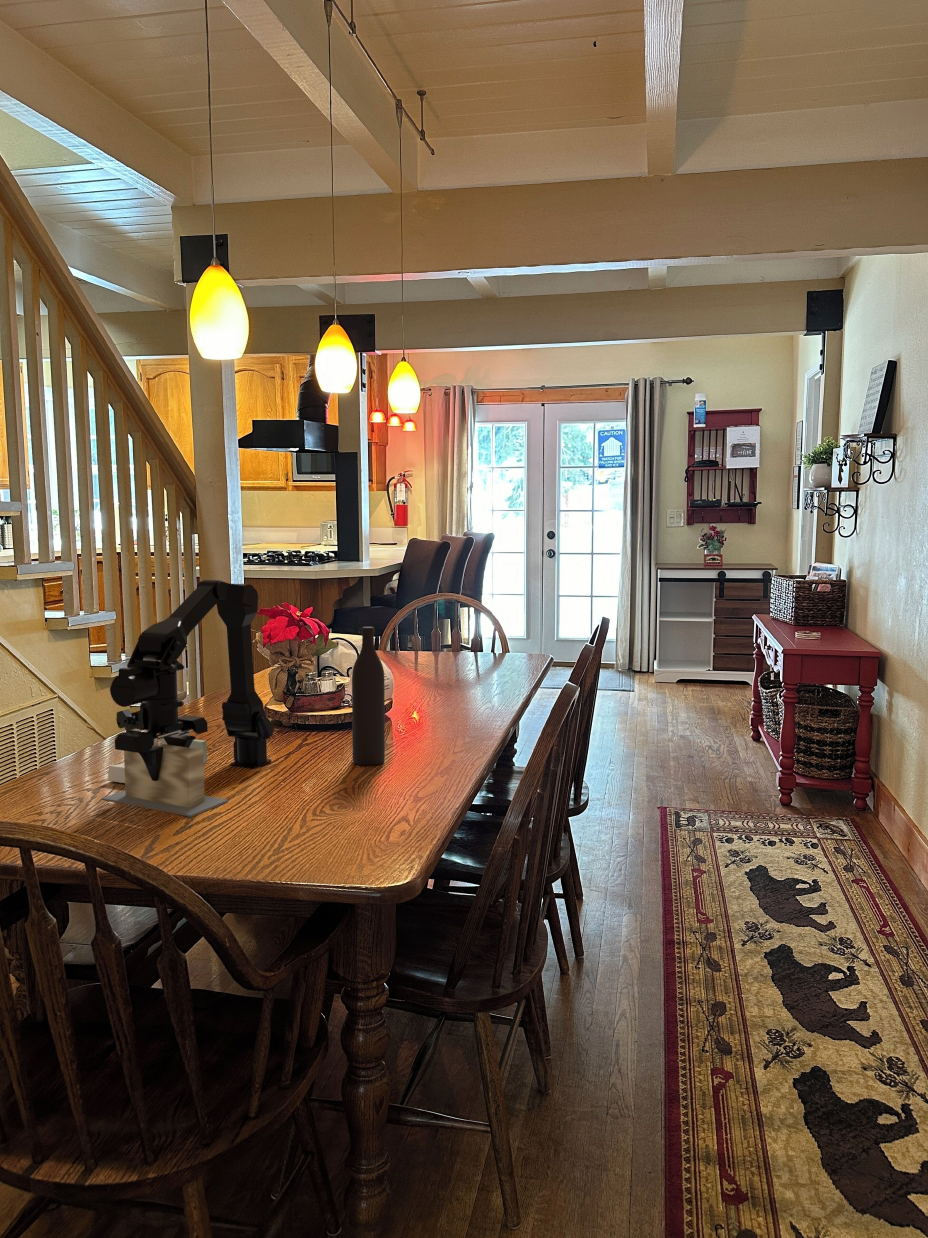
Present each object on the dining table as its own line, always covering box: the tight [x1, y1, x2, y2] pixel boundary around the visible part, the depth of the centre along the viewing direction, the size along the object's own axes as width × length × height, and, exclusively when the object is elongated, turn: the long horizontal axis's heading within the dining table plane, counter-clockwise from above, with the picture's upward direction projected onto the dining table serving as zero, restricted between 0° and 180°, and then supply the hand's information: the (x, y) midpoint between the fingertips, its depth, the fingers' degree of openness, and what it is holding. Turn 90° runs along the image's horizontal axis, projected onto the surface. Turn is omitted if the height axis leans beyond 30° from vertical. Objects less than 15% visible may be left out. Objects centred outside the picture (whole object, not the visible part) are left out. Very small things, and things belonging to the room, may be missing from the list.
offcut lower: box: [107, 763, 125, 784], centre depth 187 cm, size 12×4×3 cm, turn 68°
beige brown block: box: [123, 742, 206, 808], centre depth 175 cm, size 16×4×10 cm, turn 64°
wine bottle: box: [351, 626, 386, 767], centre depth 202 cm, size 7×7×30 cm
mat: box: [101, 789, 229, 818], centre depth 176 cm, size 22×10×1 cm, turn 64°
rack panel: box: [160, 738, 208, 765], centre depth 204 cm, size 12×1×5 cm, turn 64°
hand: (164, 777), depth 175 cm, fingers open, 5 cm apart
